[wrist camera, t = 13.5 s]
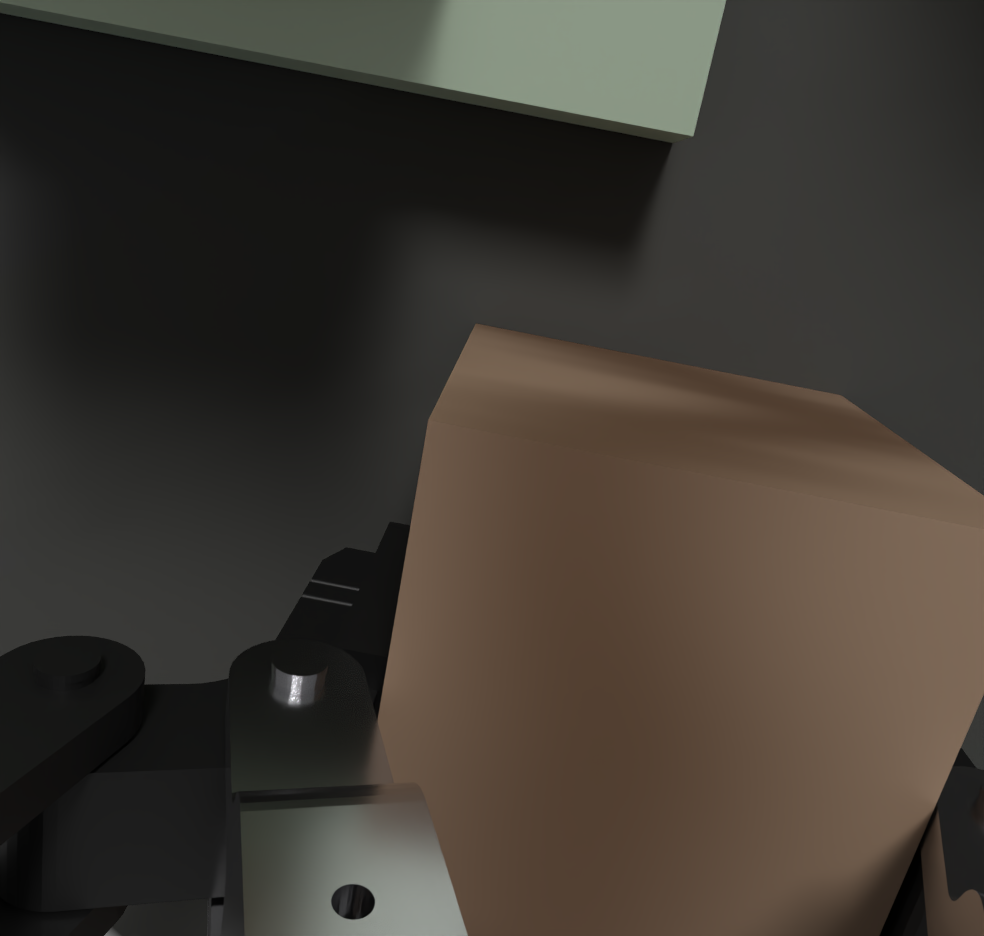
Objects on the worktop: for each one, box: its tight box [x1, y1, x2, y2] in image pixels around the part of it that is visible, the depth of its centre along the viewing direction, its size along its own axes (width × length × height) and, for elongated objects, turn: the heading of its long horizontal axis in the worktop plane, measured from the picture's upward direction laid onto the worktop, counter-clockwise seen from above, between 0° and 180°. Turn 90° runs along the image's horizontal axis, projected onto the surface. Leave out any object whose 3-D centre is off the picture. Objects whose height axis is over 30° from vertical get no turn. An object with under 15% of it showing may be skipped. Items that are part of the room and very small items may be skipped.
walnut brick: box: [378, 324, 984, 936], centre depth 10 cm, size 5×8×5 cm, turn 169°
